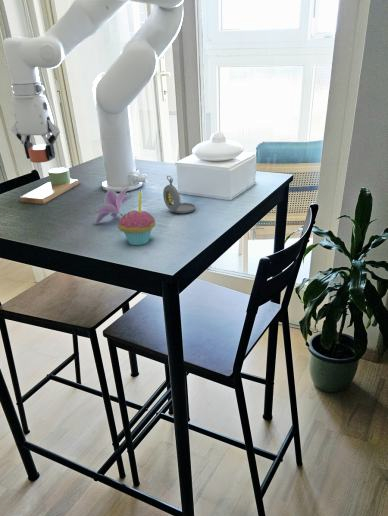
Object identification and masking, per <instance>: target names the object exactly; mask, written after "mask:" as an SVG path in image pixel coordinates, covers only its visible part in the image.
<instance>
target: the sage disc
mask: <svg viewBox="0 0 388 516" xmlns="http://www.w3.org/2000/svg"><path fill="white" fill-rule="evenodd" d="M47 173H48V178H49V182H50V183H51V184H54V185H61V184H66V183H69V182H70V181H71V179H72V178H71V174H70V169H69V168H68V167H55V168H51V169H49V170H48V171H47Z"/></svg>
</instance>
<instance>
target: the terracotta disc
mask: <svg viewBox="0 0 388 516" xmlns="http://www.w3.org/2000/svg"><path fill="white" fill-rule="evenodd" d="M45 145H46V144H36V145H33V146H31V147H28V152H29V157H30V159H29V161H30V162H31V163H34V164H37V163H38V164H39V163H40V164H41V163H48V162H50V161H52V160H53V159H51V160H48V159H47V155H46V150H45Z"/></svg>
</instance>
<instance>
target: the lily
mask: <svg viewBox="0 0 388 516" xmlns="http://www.w3.org/2000/svg"><path fill="white" fill-rule="evenodd" d="M128 188H129V187H127V188H125V189H124V190H123V191H121V192H115V191H113V190H111V189H109V190H108V191H106V192H105V196H104V200H103V201H104V204H103V205H102V206H100V207H99V208H98V209H97V210H95V211H94V214H98V215H97V217H96V220H95V222H94V224H95V225H97V224H98V223H100V222H101V221H102V220H103V219H104V218H106V217H107V216H109V215H110V216H111V217H112V218H115V219H116V218H117V217H118V214H119V215H120V216H121V217H122V216H123V214H122V213H121V209H122V205H123V204H124V203H125V202H127V201H128V200H130V199H131V198H132V195H131V194H130V195H129V194H126V193H127V192H128V191H127V190H128Z"/></svg>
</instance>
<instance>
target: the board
mask: <svg viewBox="0 0 388 516" xmlns="http://www.w3.org/2000/svg"><path fill="white" fill-rule="evenodd" d="M70 179H71V181H70V182H69V183H66V184H61V185H54V184H51V183H50V181H49V182H46V183H45V184H43V185H41V186H39V187H37V188H35V189H33V190H31V191H29V192H27V193H25V194H23V195H21V196H20V197H19V199H20V200H19V201H20V203H26V204H27V203H28V204H42V205H44V204H46V203H48V202H50V201H51V200H53V199H55V198H57V197H59V196H61V195H62V194H65V193H66V192H68V191H69V190H71V189H72V188H75V187H76V186H78V185H79V184H80V183H79V179H76V178H70Z"/></svg>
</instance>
